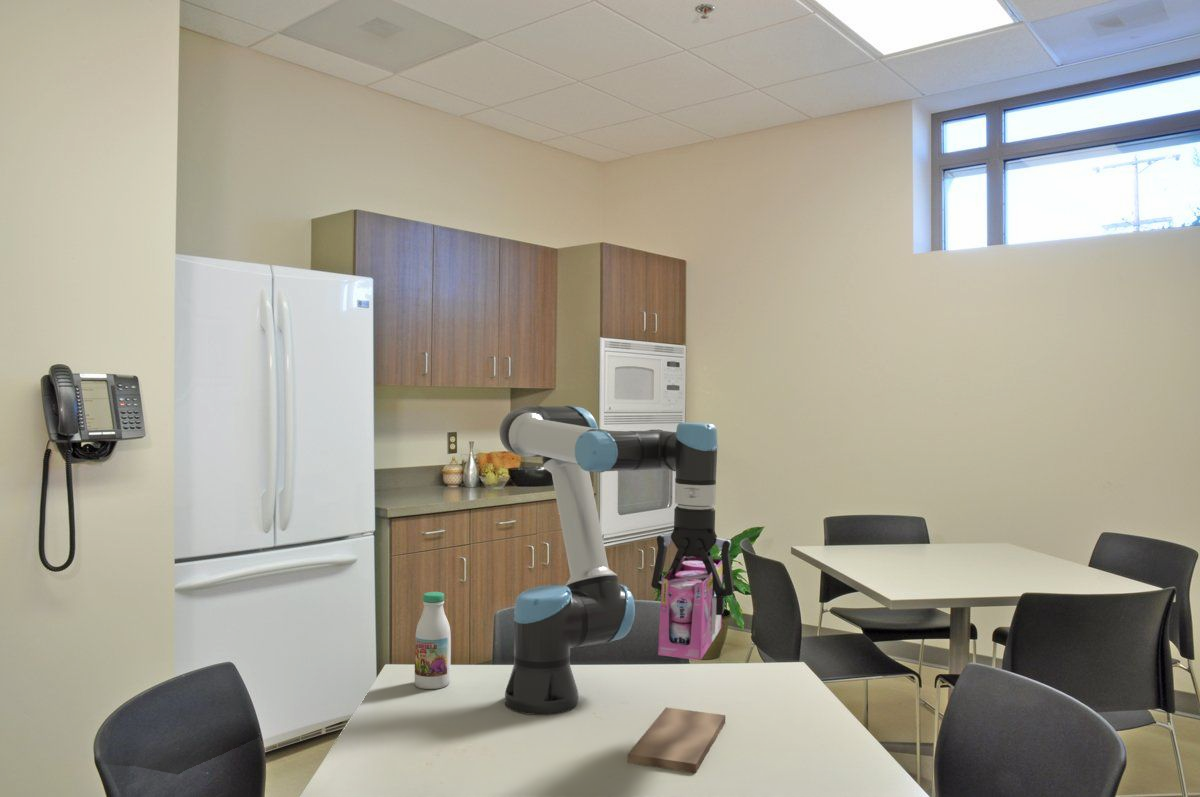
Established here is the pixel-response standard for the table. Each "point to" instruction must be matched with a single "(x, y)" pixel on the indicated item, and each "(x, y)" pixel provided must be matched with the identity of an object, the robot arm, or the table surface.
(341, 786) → the table surface
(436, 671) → the milk bottle
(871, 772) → the table surface
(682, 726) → the walnut board
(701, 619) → the gum box
